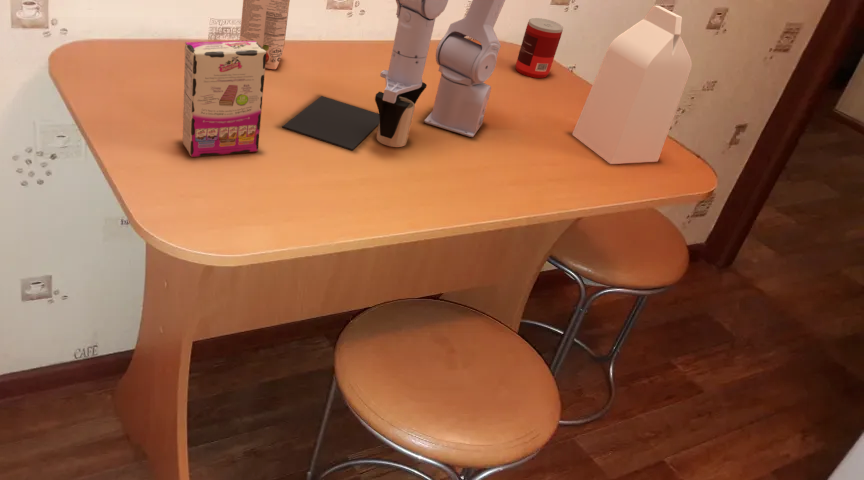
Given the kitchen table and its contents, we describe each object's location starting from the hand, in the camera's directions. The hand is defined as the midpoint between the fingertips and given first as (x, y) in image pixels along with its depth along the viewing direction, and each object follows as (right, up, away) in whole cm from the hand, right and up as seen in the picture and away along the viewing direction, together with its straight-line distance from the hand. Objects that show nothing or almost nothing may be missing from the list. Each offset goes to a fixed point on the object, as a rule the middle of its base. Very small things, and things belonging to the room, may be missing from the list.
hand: (393, 128), depth 136 cm
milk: (+43, -1, +15) cm, 45 cm away
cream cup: (0, -2, +1) cm, 2 cm away
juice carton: (-25, +17, +21) cm, 37 cm away
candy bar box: (-28, -6, -12) cm, 31 cm away
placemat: (-10, +2, +3) cm, 11 cm away
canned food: (+33, +21, +43) cm, 59 cm away
